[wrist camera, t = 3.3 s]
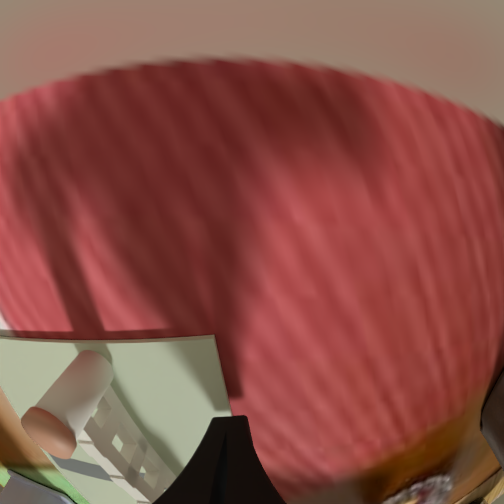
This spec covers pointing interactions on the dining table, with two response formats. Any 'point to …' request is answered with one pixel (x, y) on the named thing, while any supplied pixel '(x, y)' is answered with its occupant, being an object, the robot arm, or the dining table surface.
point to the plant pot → (495, 420)
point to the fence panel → (96, 428)
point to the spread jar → (479, 501)
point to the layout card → (127, 397)
